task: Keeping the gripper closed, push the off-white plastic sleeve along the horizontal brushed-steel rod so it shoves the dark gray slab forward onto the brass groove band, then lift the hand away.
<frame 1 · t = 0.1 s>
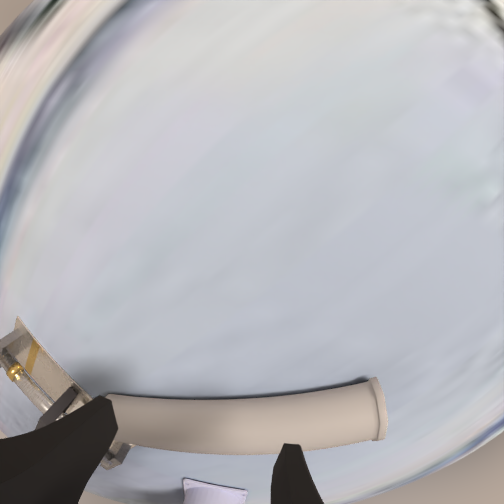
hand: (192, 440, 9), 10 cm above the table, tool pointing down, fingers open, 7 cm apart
rod rig: (66, 394, 23), on the table
tube: (225, 407, 21), on the table
sleeve: (71, 433, 20), point 4 cm above the table, slide at -3.2 cm
dark gray slab: (54, 414, 20), point 4 cm above the table, slide at -0.5 cm
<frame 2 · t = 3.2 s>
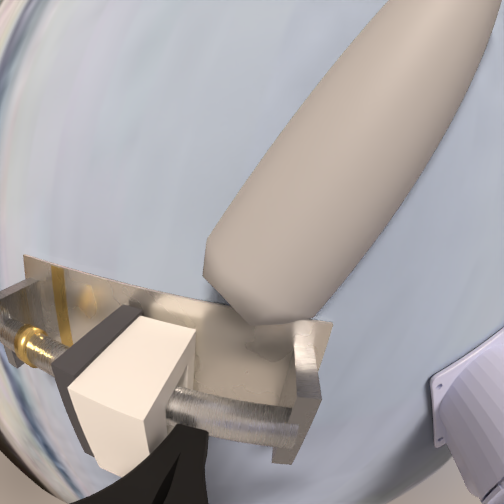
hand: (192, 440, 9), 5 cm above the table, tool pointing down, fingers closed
rod rig: (141, 349, 14), on the table
tube: (391, 82, 10), on the table
sleeve: (144, 403, 10), point 4 cm above the table, slide at -1.9 cm, touching gripper, dark gray slab
dark gray slab: (109, 383, 11), point 3 cm above the table, slide at 0.2 cm, touching sleeve
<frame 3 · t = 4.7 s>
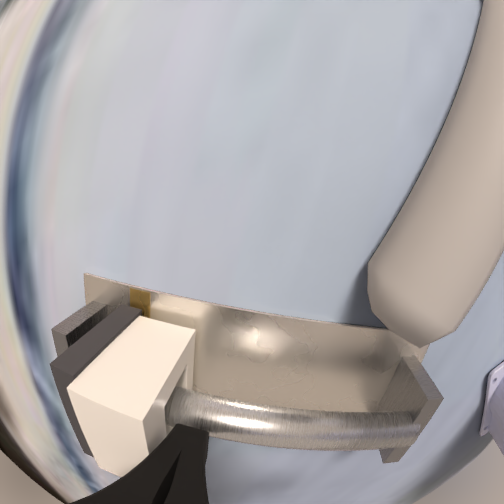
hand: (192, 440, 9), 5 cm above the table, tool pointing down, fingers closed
rod rig: (246, 375, 14), on the table
tube: (476, 115, 10), on the table
sleeve: (143, 403, 10), point 4 cm above the table, slide at 4.2 cm, touching gripper, dark gray slab
dark gray slab: (109, 384, 11), point 3 cm above the table, slide at 6.3 cm, touching sleeve
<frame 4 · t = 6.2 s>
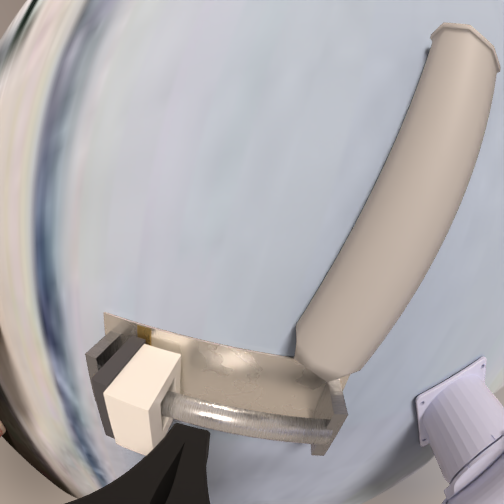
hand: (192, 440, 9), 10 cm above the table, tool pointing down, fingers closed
rod rig: (216, 384, 20), on the table
tube: (401, 192, 16), on the table
sleeve: (147, 401, 16), point 4 cm above the table, slide at 4.2 cm, touching dark gray slab
dark gray slab: (124, 388, 17), point 4 cm above the table, slide at 6.3 cm, touching sleeve
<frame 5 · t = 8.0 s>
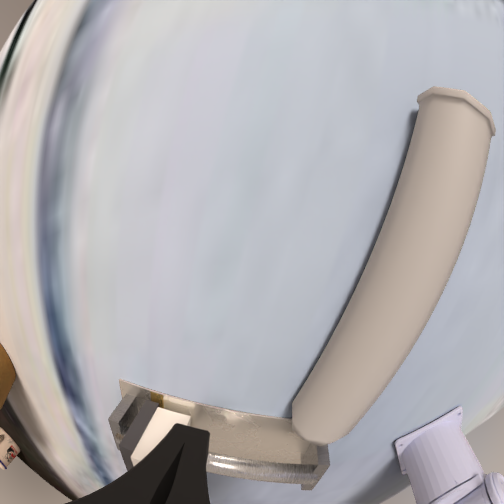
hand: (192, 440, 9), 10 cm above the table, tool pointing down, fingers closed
rod rig: (221, 435, 21), on the table
tube: (383, 282, 17), on the table
teacup with lid: (8, 436, 34), on the table
plant pot: (1, 355, 25), on the table
sleeve: (164, 453, 18), point 4 cm above the table, slide at 4.2 cm, touching dark gray slab
dark gray slab: (143, 443, 18), point 4 cm above the table, slide at 6.3 cm, touching sleeve
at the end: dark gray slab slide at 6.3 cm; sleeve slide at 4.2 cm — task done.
